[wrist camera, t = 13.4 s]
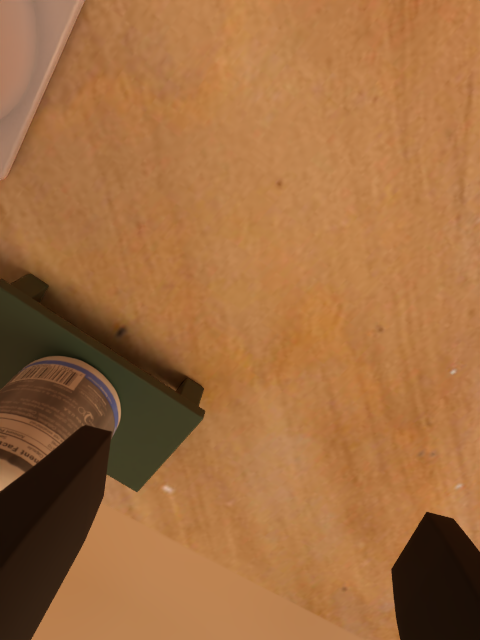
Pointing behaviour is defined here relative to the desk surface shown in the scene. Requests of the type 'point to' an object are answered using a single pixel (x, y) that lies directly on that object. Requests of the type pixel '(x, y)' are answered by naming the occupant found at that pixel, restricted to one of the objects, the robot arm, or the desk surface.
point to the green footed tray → (127, 379)
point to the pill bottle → (50, 410)
